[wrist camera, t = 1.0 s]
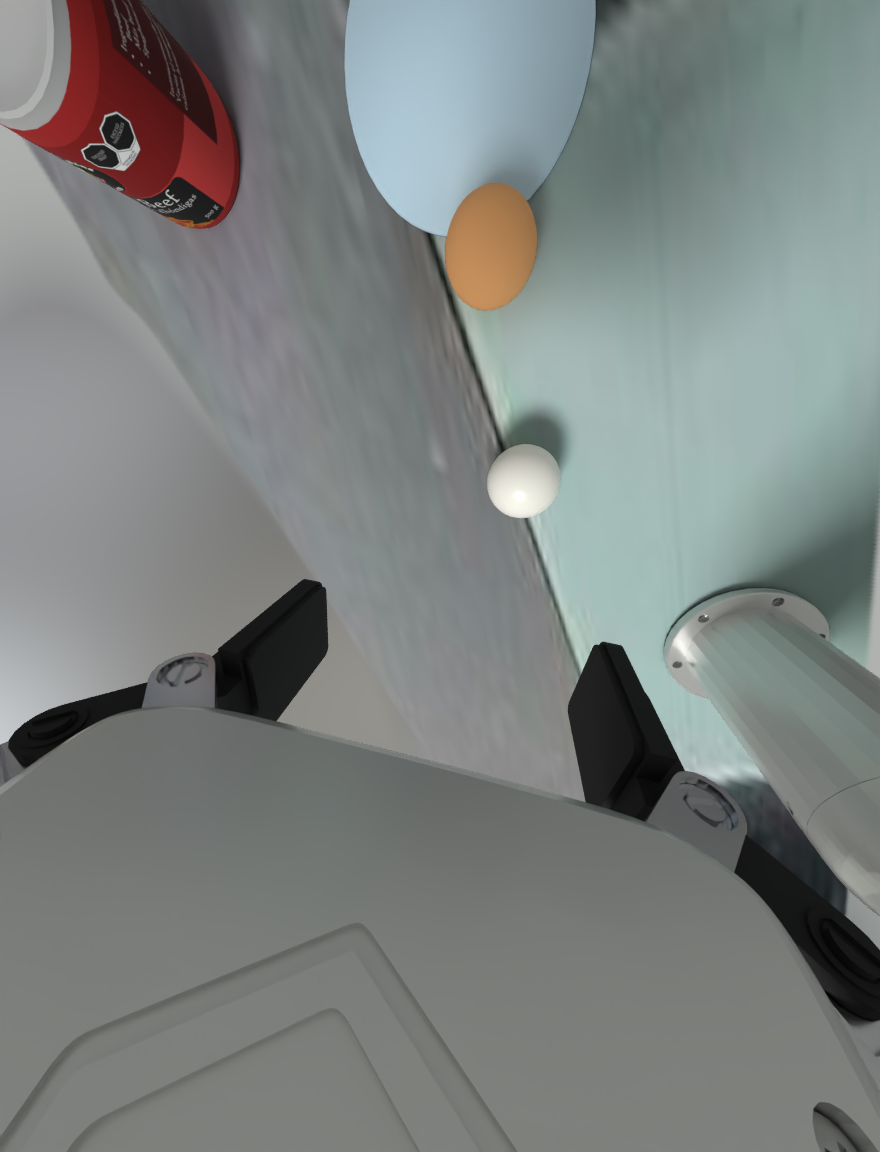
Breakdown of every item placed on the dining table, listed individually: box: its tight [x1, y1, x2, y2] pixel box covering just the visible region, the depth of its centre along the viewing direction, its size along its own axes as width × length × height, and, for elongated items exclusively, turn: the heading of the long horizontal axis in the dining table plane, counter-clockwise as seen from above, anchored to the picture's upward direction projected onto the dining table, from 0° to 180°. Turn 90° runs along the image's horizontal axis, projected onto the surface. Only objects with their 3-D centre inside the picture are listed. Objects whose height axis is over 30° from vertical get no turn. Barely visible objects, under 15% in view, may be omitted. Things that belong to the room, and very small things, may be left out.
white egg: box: [487, 444, 561, 518], centre depth 26 cm, size 6×6×6 cm
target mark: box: [345, 0, 596, 237], centre depth 19 cm, size 14×14×1 cm
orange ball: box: [445, 183, 537, 310], centre depth 20 cm, size 6×6×6 cm
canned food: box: [0, 0, 240, 229], centre depth 18 cm, size 8×8×11 cm
